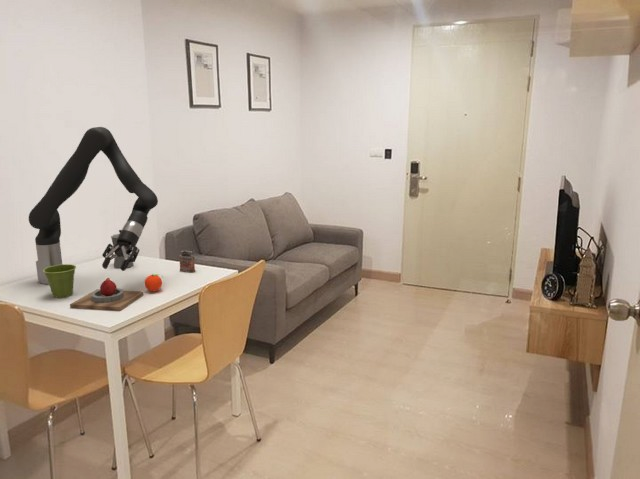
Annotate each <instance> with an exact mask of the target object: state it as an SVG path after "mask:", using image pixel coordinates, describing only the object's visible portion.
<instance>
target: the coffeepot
mask: <svg viewBox="0 0 640 479" xmlns="http://www.w3.org/2000/svg"><path fill="white" fill-rule="evenodd" d="M121 230H122V229H119V230H118V233H117V234H112V235H111V236H110V237H111V242H112V245H115V244H116V243H117V238H118V236H119V234H120V232H121ZM131 253H132V252H131ZM131 253H130V255H131ZM113 259H114V260H113V261H114V262H113V268H114V269H117V270H119V269H120V267H121V265H122V263H123V261H124V260H125V258H124V257H122V256H121V257H118V256H117V257H116V258H113ZM133 266H134V262H130V263H129V264H128V266H127V268H126V269H130V268H132V267H133ZM120 270H121V269H120Z"/></svg>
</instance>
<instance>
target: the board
mask: <svg viewBox="0 0 640 479" xmlns="http://www.w3.org/2000/svg"><path fill="white" fill-rule="evenodd" d="M97 290H100V288H99V289H94V290H92V291H91V292H90V293H88V294H86V295H84V296H82V297H80V298H79V299H77V300H75V301H73V302H71V303H70V304H69V308H70V309H78V310H79V309H80V310H81V309H82V310H93V311H95V310H99V311H112V312H113V311H114V312H121V311H122V310H124V309H126V308H127V307H129V306H130V305H131V304H133V303H135V302H136V301H137V300H139V299H140V298H141V297H143V296H144V291H140V290H139V291H138V290H137V291H135V290H123V294H124V297H123V298H122V299H120V300H117V301H114V302H107V303H96V302H94V301H92V298H91V294H92V293H93V292H95V291H97ZM113 295H116V294H113ZM113 295H112V296H113ZM98 297H106V296H104V295H101V296H98Z"/></svg>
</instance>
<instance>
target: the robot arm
mask: <svg viewBox="0 0 640 479" xmlns="http://www.w3.org/2000/svg"><path fill="white" fill-rule="evenodd" d="M100 152H102V154H104V155H105V156H106V157H107V158H108V160H109V162H110V163H111V166H112V167H113V171H114V173H115V174H116V177H117V178H118V180H119V181H120V183H121V184H122V185H123V187H124V188H125V189H126V191H128V193H129V194H134V195H136V197H137V199H136V200H135V202H134V204H133V207H132V210H131V213H130V214H129V217H128V218H127V220H126V222H125V223H124V225H123V227H122V228H121V229H120V230H121V232H119V233H118V234H119V236H118V238H117V243H116V244H115V245H113V244H111V243H108V244H107V246H106V247H105V250H104V251H103V253H102V254H101V255H102V257H103V258H104V260H103V262H102V264H101V266H102V268H103V269H105V270H107V269H108V267H109V265H110V263H111V261H112V260H113V259H114V258H116V257H117V256H118V257H121V256H122V257H124V258H125V260H124V261H123V263H122V265H121V267H120V270H121V271H122V272H125V271H126V270H127V269H128V268H127V266H128V264H129V263H130V262H133V263H135V262H136V260H137V257H138V255H139V253H140V249H139V247H137V244H138V242H139V241H140V240H139V239H140V238H141V236H142V233H143V230H144V229H145V227H146V225H147V222H148V215H149V213H150V211H151V210H153V209H154V208H155V207H156V206H157V205H158V202H159V199H158V196H157V195H156V193H155V192H154V191H153V190H152V189H151V188H150V187H149V186H147V185H146V184H145V183H144V182H143V181H142V180H141V178H140V176H138V174H137V173H136V171H135V170H134V169H133V167H132V166H131V165H130V163H129V162H128V160H127V158H126V157H125V155H124V154H123V152H122V150H121V149H120V147H119V145H118V143H117V141H116V139H115V137H114V135H113V134H112V132H111V131H110V130H109V129H108V128H106V127H103V126H97V127H96V126H95V127H91V128H88V129H87V130H86V131H85V133H84V134H83V135H82V137H81V140H80V142H79V144H78V145H77V147H76V148H75V150H74V152H73V154H72V155H71V156H70V158H68V160H67V161H66V162H65V164H64V166H63V167H62V168H61V169H60V171H59V173H58V174H57V175H56V177H55V179H54V180H53V182H52V183H51V184H50V186H49V188H48V189H47V191H46V193H44V196H42V197H41V199H40V200H39V201H38V202H37V203H36V205H35V206H34V207H33V208H32V209H31V211H30V212H29V214H28V222H29V225H30V226H31V228H34V229H35V230H39V231H38V233H37V235H36V237H35V250H36V256H37V260H36V261H35V265H36V274H37V283H39V284H42V285H49V282H48V279H47V277H46V275H45V273H44V272H43V270H44V269H45V268H47V267H50V266H55V265H62V264H63V259H62V258H63V257H62V248H61V239H60V238H61V236H62V230H61V228H62V227H61V226H62V225H61V216H60V212H59V211H58V209H59V208H60V207H61V206H62V204H64V203H65V202H66V201H67V200H68V199H69V198H71V197H72V196H73V195H74V194H75V193H76V192H77V191H78V189H79V188H80V187H81V186H82V184H83V182H84V180H85V179H86V177H87V174H88V172H89V168H90V165H91V163H92V162H93V160H95V158H96V156H97V155H98V154H99V153H100ZM130 253H131V255H130Z"/></svg>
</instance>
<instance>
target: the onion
mask: <svg viewBox="0 0 640 479" xmlns="http://www.w3.org/2000/svg"><path fill="white" fill-rule="evenodd" d="M116 288H117V284H116V283H115V281H114V280H111V278H110V277H106V279H105V280H104V281H103V282H102V283H101V284H100V286H99V289H100V292H101V293H102V294H103V295H104V296H106V297H107V296H112V295H113V294H114V293H115V292H116Z"/></svg>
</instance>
